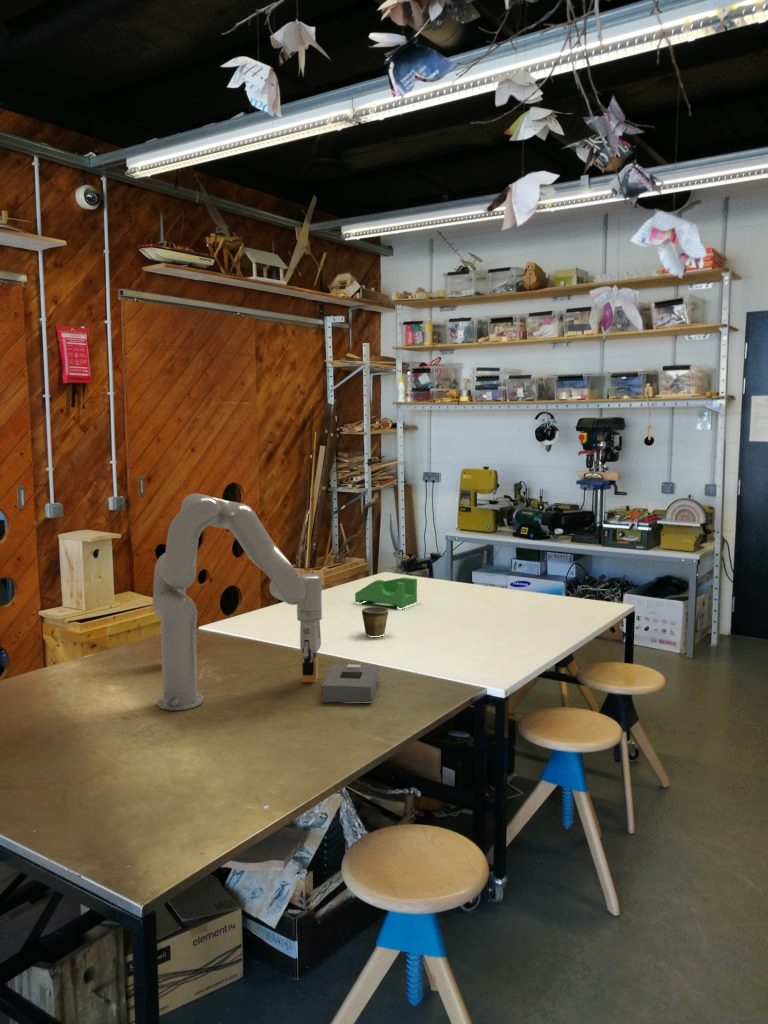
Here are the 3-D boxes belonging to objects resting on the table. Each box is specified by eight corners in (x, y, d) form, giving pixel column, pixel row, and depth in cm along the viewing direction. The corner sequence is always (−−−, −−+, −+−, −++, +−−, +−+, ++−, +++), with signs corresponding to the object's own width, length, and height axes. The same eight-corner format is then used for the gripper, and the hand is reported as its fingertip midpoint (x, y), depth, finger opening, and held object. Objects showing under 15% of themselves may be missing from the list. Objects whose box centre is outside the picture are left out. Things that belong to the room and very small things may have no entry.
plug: (315, 683, 235) (315, 654, 234) (301, 682, 235) (301, 654, 234) (318, 678, 239) (318, 650, 238) (304, 678, 240) (304, 649, 239)
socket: (370, 704, 216) (370, 684, 216) (322, 702, 218) (321, 682, 217) (377, 681, 236) (377, 662, 236) (333, 679, 238) (332, 661, 237)
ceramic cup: (392, 637, 286) (392, 611, 285) (367, 640, 283) (367, 613, 281) (379, 629, 298) (379, 604, 297) (355, 631, 295) (355, 606, 293)
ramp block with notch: (416, 605, 341) (416, 578, 339) (401, 611, 329) (401, 583, 328) (371, 599, 353) (371, 573, 352) (355, 604, 342) (355, 578, 341)
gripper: (316, 621, 226) (317, 681, 228) (326, 608, 243) (326, 663, 245) (291, 621, 227) (292, 680, 229) (302, 607, 244) (303, 663, 246)
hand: (310, 671), depth 237 cm, fingers open, 5 cm apart
